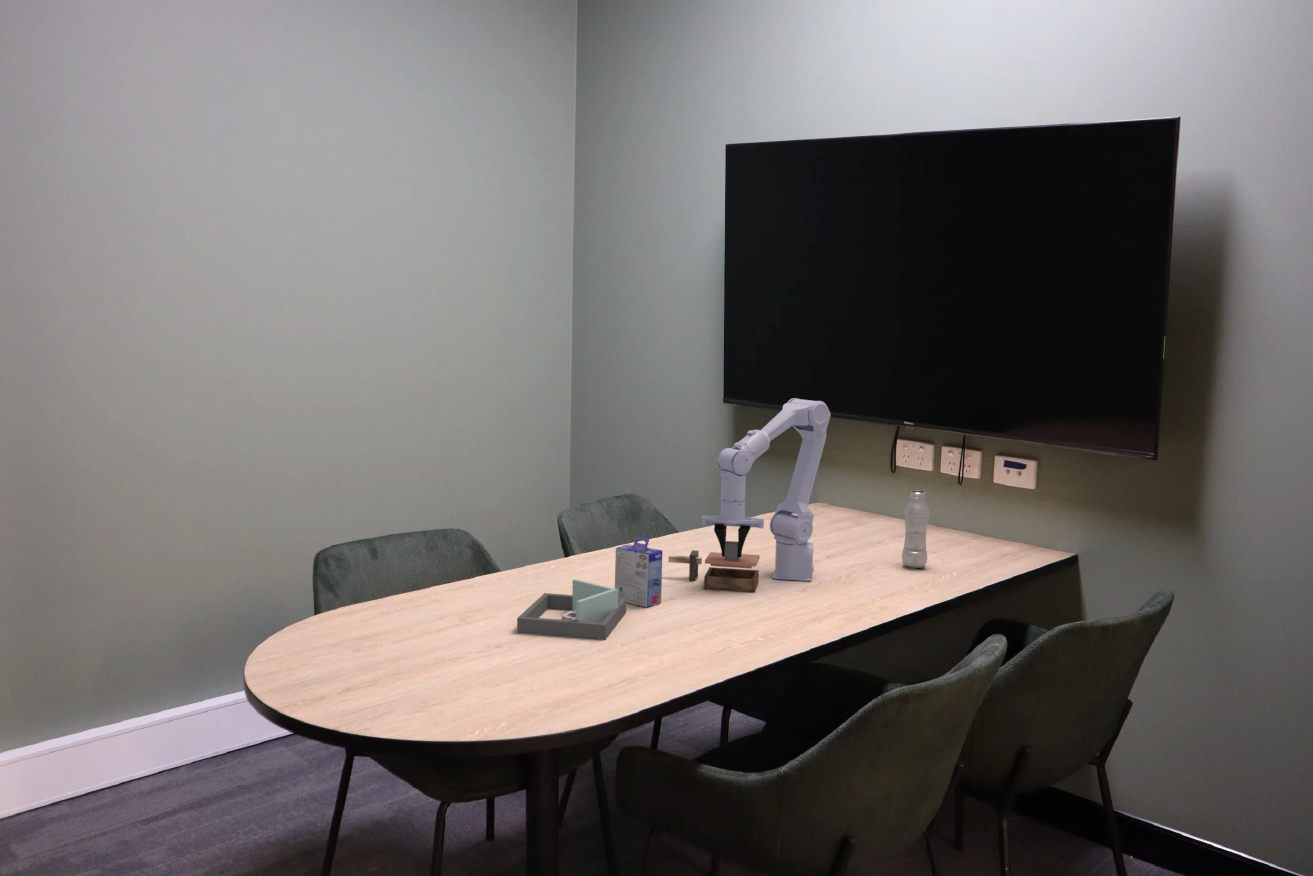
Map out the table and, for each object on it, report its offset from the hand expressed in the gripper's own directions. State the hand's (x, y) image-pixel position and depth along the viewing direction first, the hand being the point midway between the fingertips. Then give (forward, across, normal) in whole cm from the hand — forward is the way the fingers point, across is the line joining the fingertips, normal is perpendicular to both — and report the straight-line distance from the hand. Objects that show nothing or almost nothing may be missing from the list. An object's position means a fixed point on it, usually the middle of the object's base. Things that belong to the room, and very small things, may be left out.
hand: (731, 556), depth 236 cm
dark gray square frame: (+8, -29, -34) cm, 45 cm away
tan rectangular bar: (+4, -12, +5) cm, 14 cm away
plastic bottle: (+8, +44, +31) cm, 54 cm away
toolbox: (+8, -2, +2) cm, 8 cm away
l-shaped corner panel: (+8, -28, -34) cm, 45 cm away
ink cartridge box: (+8, -19, -16) cm, 26 cm away
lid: (+2, 0, +2) cm, 3 cm away
